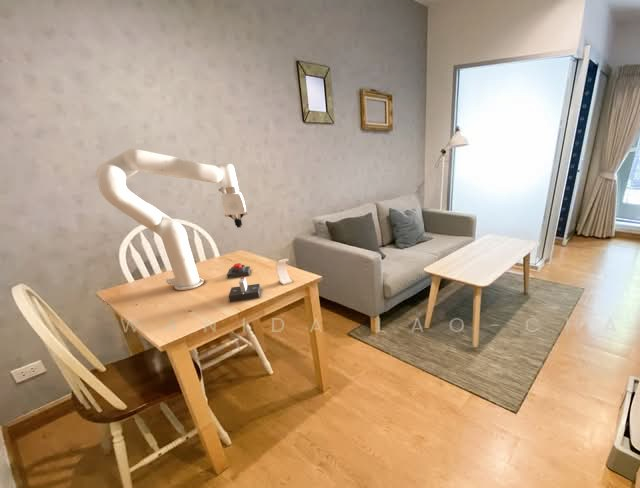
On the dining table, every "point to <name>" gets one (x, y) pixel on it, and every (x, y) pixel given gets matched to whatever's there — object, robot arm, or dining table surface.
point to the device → (244, 293)
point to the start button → (237, 266)
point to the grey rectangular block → (243, 284)
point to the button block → (238, 272)
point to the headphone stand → (282, 272)
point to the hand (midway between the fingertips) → (239, 226)
